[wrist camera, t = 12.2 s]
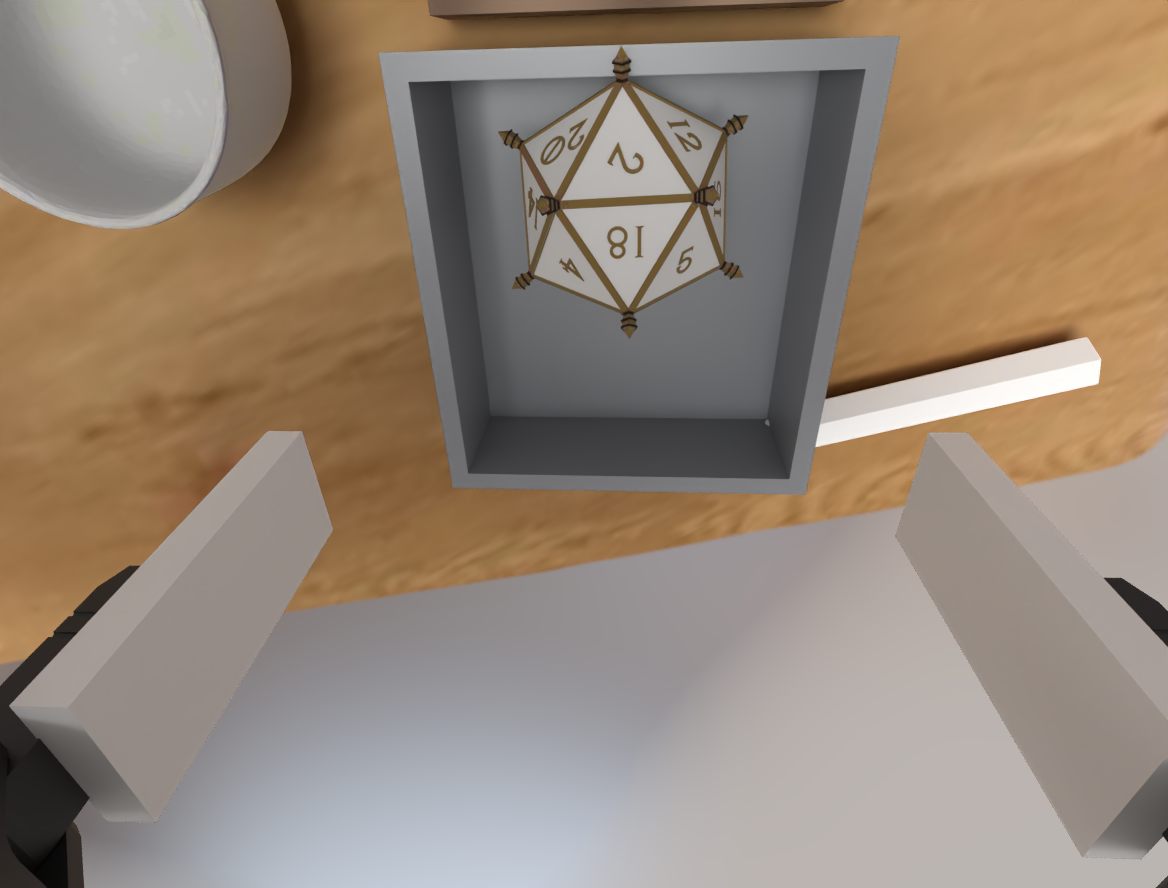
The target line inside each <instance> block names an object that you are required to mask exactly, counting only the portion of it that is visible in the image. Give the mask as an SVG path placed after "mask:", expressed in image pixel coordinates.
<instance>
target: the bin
mask: <svg viewBox="0 0 1168 888" xmlns="http://www.w3.org/2000/svg"><path fill="white" fill-rule="evenodd" d="M899 39H900V36H885V37H854V38H822V39H791V40H759V41H728V42H696V43H665V44H634V45H602V46H571V47H539V48H508V49H476V50H445V51H414V52H382V53H379V59H380V65H381V71H382V77H383V82H384V88H385V94H386V100H387V106H388V112H389V117H390V123H391V129H392V135H393V141H394V147H395V153H396V158H397V164H398V170H399V176H400V182H401V188H402V193H403V199H404V205H405V211H406V217H407V223H408V228H409V234H410V240H411V246H412V252H413V258H414V264H415V269H416V275H417V281H418V287H419V293H420V299H421V304H422V310H423V316H424V322H425V328H426V334H427V339H428V345H429V351H430V357H431V363H432V369H433V375H434V380H435V386H436V392H437V398H438V404H439V410H440V415H441V421H442V427H443V433H444V439H445V445H446V450H447V456H448V462H449V468H450V474H451V480H452V485H453V488H484V489H536V490H588V491H641V492H693V493H746V494H798V495H805V494H806V489H807V484H808V480H809V475H810V470H811V465H812V460H813V455H814V451H815V446H816V441H817V436H818V431H819V426H820V421H821V417H822V412H823V407H824V402H825V397H826V392H827V388H828V383H829V378H830V373H831V368H832V363H833V359H834V354H835V349H836V344H837V339H838V334H839V329H840V325H841V320H842V315H843V310H844V305H845V300H846V296H847V291H848V286H849V281H850V276H851V271H852V267H853V262H854V257H855V252H856V247H857V242H858V237H859V233H860V228H861V223H862V218H863V213H864V208H865V204H866V199H867V194H868V189H869V184H870V179H871V175H872V170H873V165H874V160H875V155H876V150H877V145H878V141H879V136H880V131H881V126H882V121H883V116H884V112H885V107H886V102H887V97H888V92H889V87H890V83H891V78H892V73H893V68H894V63H895V58H896V53H897V49H898V44H899ZM621 46H622V48H623V49H624V51H625V53H626V55H627V57H628V58H629V59H630V60H631V63H630V66H629V68H630V69H631V72H629V74H628V80H629V81H631V82H633V83H635V84H637V85H639V86H641V87H643V88H645V89H647V90H649V91H651V92H653V93H655V94H657V95H659V96H661V97H663V98H665V99H667V100H668V101H670V102H672V103H674V104H676V105H678V106H680V107H682V108H684V109H686V110H688V111H690V112H692V113H694V114H696V115H698V116H700V117H702V118H704V119H706V120H708V121H710V122H711V123H713V124H715V125H717V126H719V127H721V128H722V127H724V126H725V125H726V124H727V120H728V119H729V120H731V119H732V118H733V115H734V114H735V115H736V116H741V115H749V116H748V118H747V120H746V122H745V124H744V126H743V129H742V130H741V131H740V130H738V131H737V133H736V134H735V135H734V134H731V135H729V136H728V142H727V187H726V232H725V261H726V262H728V263H731V262H733V263H734V265H738V266H740V267H739V268H740V270H741V272H742V274H743V276H744V277H743V278H732V279H731V280H730V279H729V278H730V277H728V276H727V275H726V276H724V272H723V271H722V270H720V269H719V270H717V271H715V272H713V273H711V274H709V275H707V276H705V277H703V278H701V279H700V280H698V281H696V282H694V283H692V284H690V285H688V286H686V287H684V288H682V289H681V290H679V291H677V292H675V293H673V294H671V295H669V296H667V297H665V298H663V299H662V300H660V301H658V302H656V303H654V304H652V305H650V306H648V307H646V308H644V309H643V310H641V311H639V312H637V313H635V314H634V317H635V319H637V321H636V325H637V326H638V327H637V329H636V330H635V331H634V332H633V334H632V336H631V338H630V339H629V338H628V336H627V335H626V333H625V332H624V331H623V330H622V329H621V326H622V322H621V320H622V319H623V315H621V313H618V312H616V311H613V310H611V309H608V308H606V307H603V306H601V305H598V304H596V303H593V302H591V301H588V300H586V299H584V298H581V297H579V296H576V295H574V294H571V293H569V292H566V291H564V290H561V289H559V288H556V287H554V286H551V285H549V284H547V283H544V282H542V281H539V280H537V279H533V280H532V281H531V283H530V286H529V285H528V286H526V287H525V290H524V289H512V286H513V284H514V282H515V277H517V276H518V277H519V276H521V275H520V274H521V273H523V274H524V273H527V272H528V271H529V268H528V255H527V242H526V229H525V216H524V203H523V190H522V177H521V164H520V151H519V149H516V148H513V149H512V148H510V146H509V145H507V146H506V145H505V144H503V143H504V141H503V140H502V138H501V136H500V135H499V133H498V132H499V131H510V130H511V129H512V130H513V131H512V132H514V133H515V134H517V133H518V136H519V137H520V138H521V139H522V140H524V141H525V140H526V139H528V138H529V137H531V136H532V135H534V134H535V133H537V132H538V131H540V130H541V129H543V128H544V127H546V126H547V125H549V124H550V123H552V122H553V121H555V120H556V119H558V118H559V117H561V116H562V115H564V114H565V113H567V112H569V111H570V110H572V109H573V108H575V107H576V106H578V105H579V104H581V103H582V102H584V101H585V100H587V99H588V98H590V97H591V96H593V95H594V94H596V93H597V92H599V91H600V90H602V89H603V88H605V87H606V86H608V85H609V84H611V83H612V82H614V81H615V80H616V76H615V73H613V69H614V64H612V61H613V60H614V59H615V57H616V56H617V53H618V51H619V49H620V47H621ZM767 419H768V421H769V426H768V425H767V424H765V421H766V420H767Z"/></svg>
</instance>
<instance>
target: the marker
mask: <svg viewBox="0 0 1168 888" xmlns="http://www.w3.org/2000/svg"><path fill="white" fill-rule="evenodd" d="M1100 365H1101V358H1100V357H1099V355H1098V353H1097V352H1096V350H1095V349H1094V347H1093V345H1092V344H1091V342H1090V341H1089V339H1088V338H1087V337H1084V338H1079V339H1074V340H1069V341H1065V342H1061V343H1056V344H1052V345H1048V346H1044V347H1040V348H1036V349H1031V350H1027V351H1023V352H1019V353H1015V354H1011V355H1006V356H1002V357H998V358H994V359H990V360H986V361H982V362H977V363H973V364H969V365H965V366H961V367H957V368H952V369H948V370H944V371H940V372H936V373H932V374H927V375H923V376H919V377H915V378H911V379H907V380H902V381H898V382H894V383H890V384H886V385H882V386H877V387H873V388H869V389H865V390H861V391H857V392H852V393H848V394H844V395H840V396H836V397H832V398H827V399H825V402H824V407H823V412H822V417H821V421H820V426H819V431H818V436H817V441H816V446H815V447H818V446H823V445H827V444H832V443H836V442H840V441H845V440H849V439H854V438H858V437H863V436H867V435H872V434H876V433H881V432H885V431H890V430H894V429H899V428H903V427H907V426H912V425H916V424H921V423H925V422H930V421H934V420H939V419H943V418H948V417H952V416H957V415H961V414H965V413H970V412H974V411H979V410H983V409H988V408H992V407H997V406H1001V405H1006V404H1010V403H1015V402H1019V401H1023V400H1028V399H1032V398H1037V397H1041V396H1046V395H1050V394H1055V393H1059V392H1064V391H1068V390H1073V389H1077V388H1082V387H1086V386H1090V385H1095V384H1098V383H1099V374H1100ZM765 424H767V425H768V426H769V421H768V419H767V420H766V421H765Z"/></svg>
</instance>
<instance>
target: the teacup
mask: <svg viewBox="0 0 1168 888" xmlns="http://www.w3.org/2000/svg"><path fill="white" fill-rule="evenodd" d="M291 86H292V78H291V59H290V50H289V45H288V40H287V35H286V30H285V27H284V24H283V20H282V17H281V14H280V11H279V8H278V6H277V3H276V0H0V188H2V189H3V190H5V191H6V192H8V193H10V194H11V195H13V196H15V197H17V198H18V199H20V200H22V201H24V202H26V203H28V204H30V205H32V206H34V207H36V208H38V209H40V210H42V211H45V212H47V213H49V214H52V215H55V216H57V217H60V218H63V219H66V220H69V221H74V222H78V223H82V224H86V225H91V226H95V227H100V228H110V229H136V228H141V227H146V226H151V225H154V224H158V223H161V222H163V221H166V220H168V219H170V218H173V217H175V216H177V215H178V214H180V213H181V212H183V211H184V210H185V209H187V208H189V207H190V206H191V205H192V204H193V203H195V202H197V201H199V200H201V199H203V198H205V197H208V196H210V195H212V194H213V193H215V192H217V191H219V190H221V189H223V188H225V187H226V186H228V185H230V184H231V183H233V182H235V181H236V180H238V179H240V178H241V177H243V176H244V175H245V174H247V173H248V172H249V171H250V170H252V169H253V168H254V167H255V166H256V165H258V164H259V163H260V162H261V161H262V160H263V158H264V157H265V156H266V155H267V154H268V153H269V152H270V150H271V149H272V147H273V145H274V144H275V142H276V140H277V139H278V137H279V135H280V133H281V131H282V128H283V125H284V122H285V119H286V116H287V113H288V108H289V102H290V97H291Z"/></svg>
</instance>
